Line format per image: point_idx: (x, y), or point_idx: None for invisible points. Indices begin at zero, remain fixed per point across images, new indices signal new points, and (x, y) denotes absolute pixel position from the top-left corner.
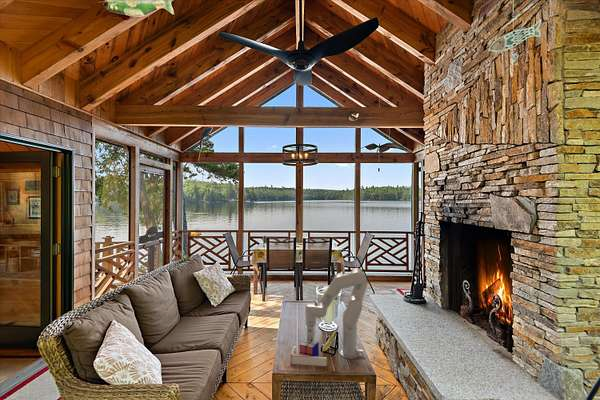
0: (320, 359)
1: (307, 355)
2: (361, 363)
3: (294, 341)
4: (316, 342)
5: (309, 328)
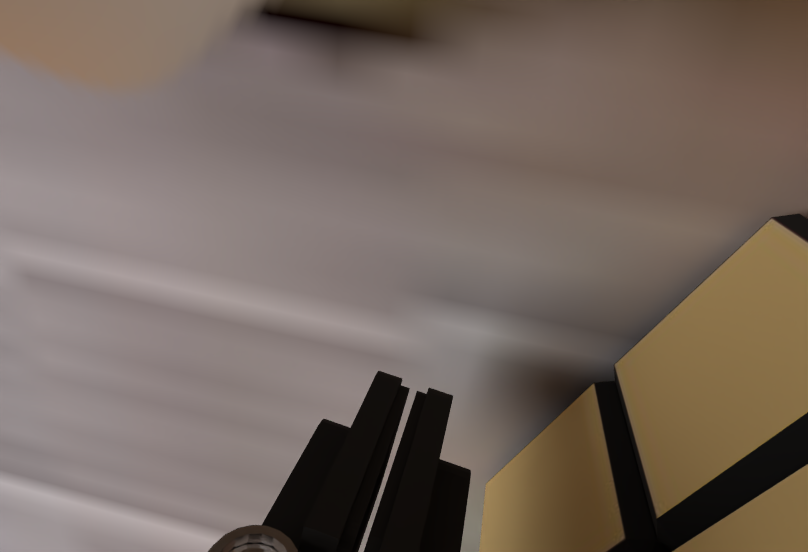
0: None
1: None
2: None
3: (2, 519)
4: None
5: None
